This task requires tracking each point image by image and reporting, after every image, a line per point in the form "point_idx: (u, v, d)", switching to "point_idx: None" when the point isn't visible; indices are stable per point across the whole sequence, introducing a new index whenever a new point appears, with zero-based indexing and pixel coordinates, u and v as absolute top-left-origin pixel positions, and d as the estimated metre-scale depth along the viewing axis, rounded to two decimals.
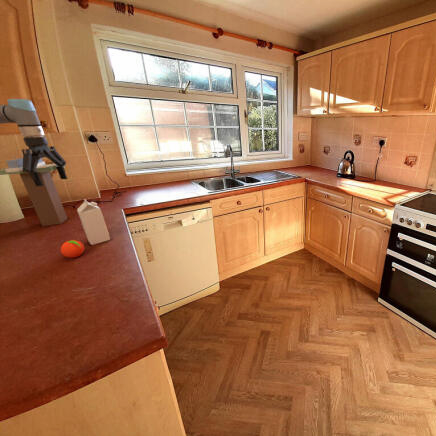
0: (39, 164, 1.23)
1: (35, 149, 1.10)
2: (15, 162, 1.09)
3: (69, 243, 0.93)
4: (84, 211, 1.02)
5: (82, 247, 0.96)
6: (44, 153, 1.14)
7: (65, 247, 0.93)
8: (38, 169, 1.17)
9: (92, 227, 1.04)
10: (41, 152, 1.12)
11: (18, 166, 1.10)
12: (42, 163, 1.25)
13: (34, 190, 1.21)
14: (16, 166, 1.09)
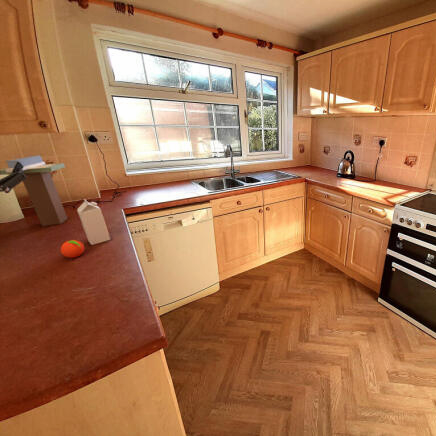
0: (39, 164, 1.23)
1: None
2: (15, 162, 1.09)
3: (69, 243, 0.93)
4: (84, 211, 1.02)
5: (82, 247, 0.96)
6: None
7: (65, 247, 0.93)
8: (38, 169, 1.17)
9: (92, 227, 1.04)
10: None
11: None
12: (42, 163, 1.25)
13: (34, 190, 1.21)
14: None
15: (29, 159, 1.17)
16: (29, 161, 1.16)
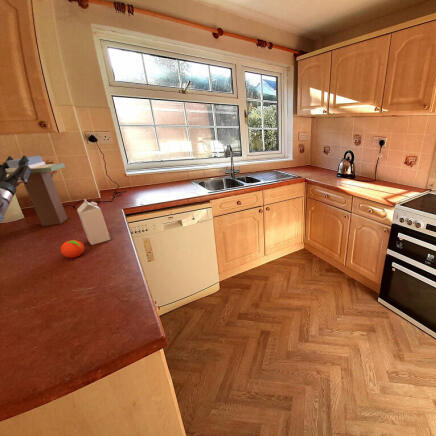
0: (39, 164, 1.23)
1: None
2: (15, 162, 1.09)
3: (69, 243, 0.93)
4: (84, 211, 1.02)
5: (82, 247, 0.96)
6: None
7: (65, 247, 0.93)
8: (38, 169, 1.17)
9: (92, 227, 1.04)
10: None
11: (18, 166, 1.10)
12: (42, 163, 1.25)
13: (34, 190, 1.21)
14: (16, 166, 1.09)
15: (29, 159, 1.17)
16: (29, 161, 1.16)
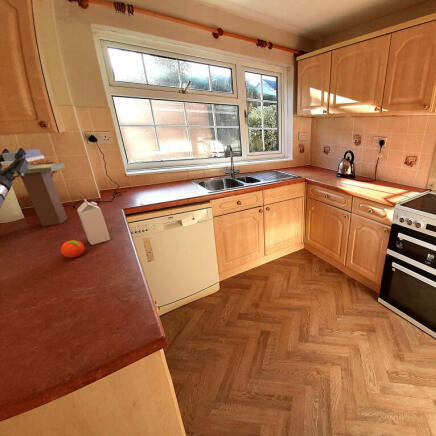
0: (37, 158, 1.15)
1: None
2: (11, 155, 1.01)
3: (69, 243, 0.93)
4: (84, 211, 1.02)
5: (82, 247, 0.96)
6: None
7: (65, 247, 0.93)
8: (38, 169, 1.17)
9: (92, 227, 1.04)
10: None
11: (14, 159, 1.02)
12: (41, 157, 1.17)
13: (34, 190, 1.21)
14: (12, 159, 1.01)
15: (26, 151, 1.09)
16: (26, 154, 1.08)
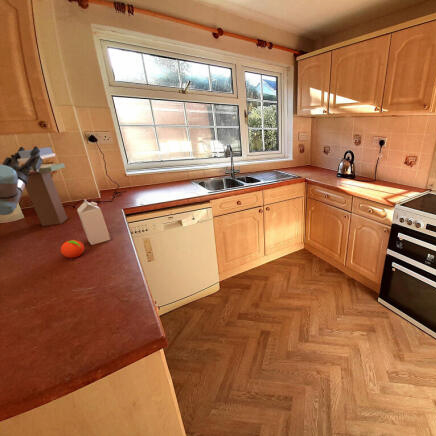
0: (49, 155, 1.24)
1: None
2: (27, 152, 1.10)
3: (69, 243, 0.93)
4: (84, 211, 1.02)
5: (82, 247, 0.96)
6: None
7: (65, 247, 0.93)
8: None
9: (92, 227, 1.04)
10: None
11: (30, 156, 1.10)
12: (52, 155, 1.26)
13: (34, 190, 1.21)
14: (28, 156, 1.10)
15: (40, 150, 1.18)
16: (40, 152, 1.17)
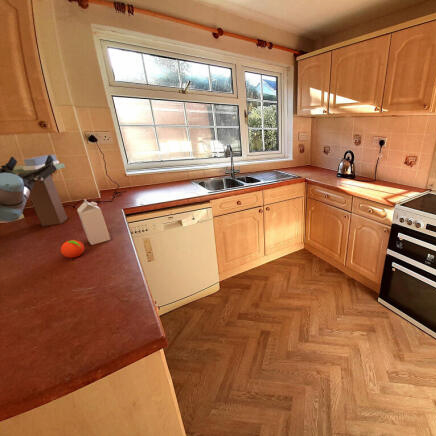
0: None
1: None
2: (32, 161, 1.12)
3: (69, 243, 0.93)
4: (84, 211, 1.02)
5: (82, 247, 0.96)
6: None
7: (65, 247, 0.93)
8: None
9: (92, 227, 1.04)
10: None
11: (35, 164, 1.13)
12: (56, 162, 1.29)
13: (34, 190, 1.21)
14: (33, 164, 1.13)
15: (44, 157, 1.20)
16: (44, 159, 1.20)
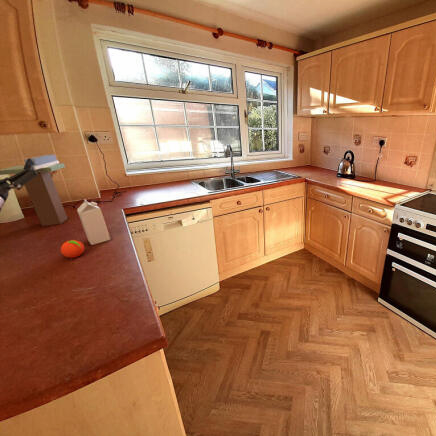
0: (53, 163, 1.26)
1: None
2: None
3: (69, 243, 0.93)
4: (84, 211, 1.02)
5: (82, 247, 0.96)
6: None
7: (65, 247, 0.93)
8: (38, 169, 1.17)
9: (92, 227, 1.04)
10: None
11: (35, 164, 1.13)
12: (56, 162, 1.29)
13: (34, 190, 1.21)
14: None
15: (44, 157, 1.20)
16: (44, 159, 1.20)
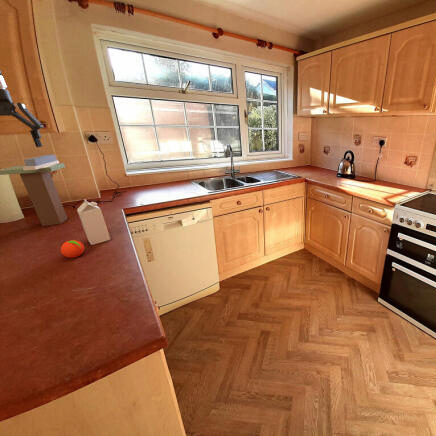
0: (53, 163, 1.26)
1: None
2: (32, 161, 1.12)
3: (69, 243, 0.93)
4: (84, 211, 1.02)
5: (82, 247, 0.96)
6: (2, 110, 0.92)
7: (65, 247, 0.93)
8: (38, 169, 1.17)
9: (92, 227, 1.04)
10: None
11: (35, 164, 1.13)
12: (56, 162, 1.29)
13: (34, 190, 1.21)
14: (33, 164, 1.13)
15: (44, 157, 1.20)
16: (44, 159, 1.20)
